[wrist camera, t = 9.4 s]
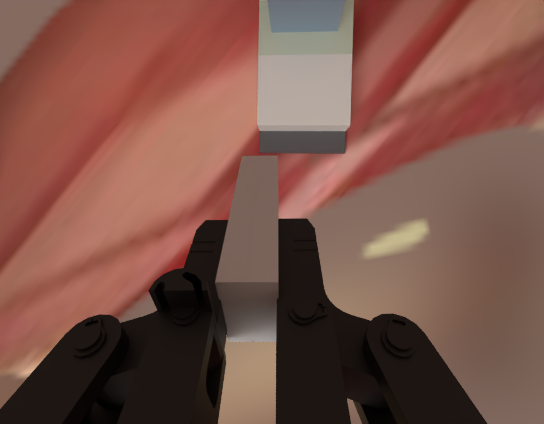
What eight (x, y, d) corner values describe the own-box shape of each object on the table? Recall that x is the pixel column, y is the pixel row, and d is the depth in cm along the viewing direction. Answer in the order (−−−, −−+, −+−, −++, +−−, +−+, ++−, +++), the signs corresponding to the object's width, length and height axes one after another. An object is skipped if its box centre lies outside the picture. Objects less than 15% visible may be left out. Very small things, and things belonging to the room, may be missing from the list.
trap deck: (259, 153, 34) (256, 148, 31) (263, -39, 33) (260, -62, 30) (344, 153, 33) (349, 148, 30) (350, -42, 33) (355, -67, 30)
